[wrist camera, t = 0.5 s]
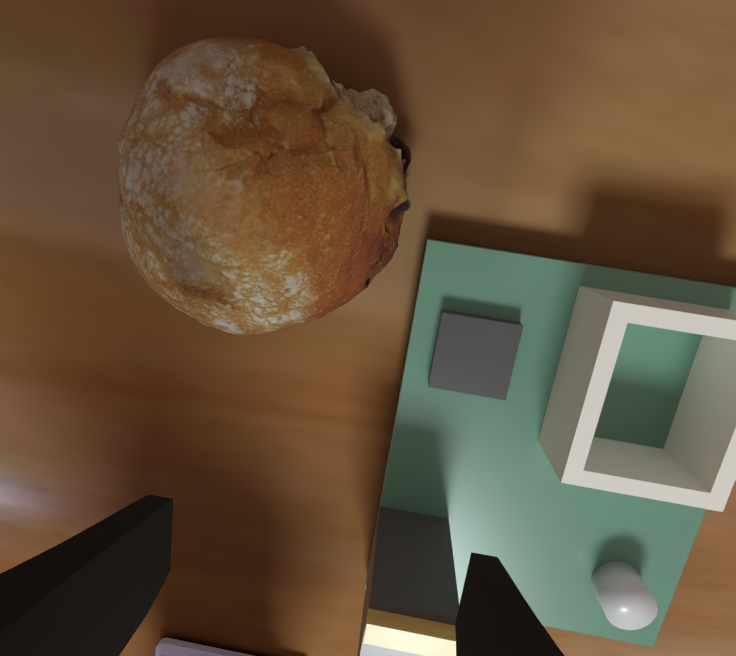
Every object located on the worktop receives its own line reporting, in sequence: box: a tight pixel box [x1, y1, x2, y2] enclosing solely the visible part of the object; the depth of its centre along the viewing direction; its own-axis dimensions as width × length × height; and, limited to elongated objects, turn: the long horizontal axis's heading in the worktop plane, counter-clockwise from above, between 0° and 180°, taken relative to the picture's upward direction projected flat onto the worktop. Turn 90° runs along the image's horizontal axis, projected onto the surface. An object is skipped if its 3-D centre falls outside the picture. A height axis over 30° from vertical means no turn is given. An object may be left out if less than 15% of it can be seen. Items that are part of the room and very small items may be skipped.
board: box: [365, 238, 736, 647], centre depth 19 cm, size 16×13×2 cm
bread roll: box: [117, 37, 411, 335], centre depth 16 cm, size 10×10×8 cm
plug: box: [358, 506, 459, 656], centre depth 18 cm, size 4×3×6 cm
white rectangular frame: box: [538, 286, 736, 512], centre depth 16 cm, size 6×5×3 cm
